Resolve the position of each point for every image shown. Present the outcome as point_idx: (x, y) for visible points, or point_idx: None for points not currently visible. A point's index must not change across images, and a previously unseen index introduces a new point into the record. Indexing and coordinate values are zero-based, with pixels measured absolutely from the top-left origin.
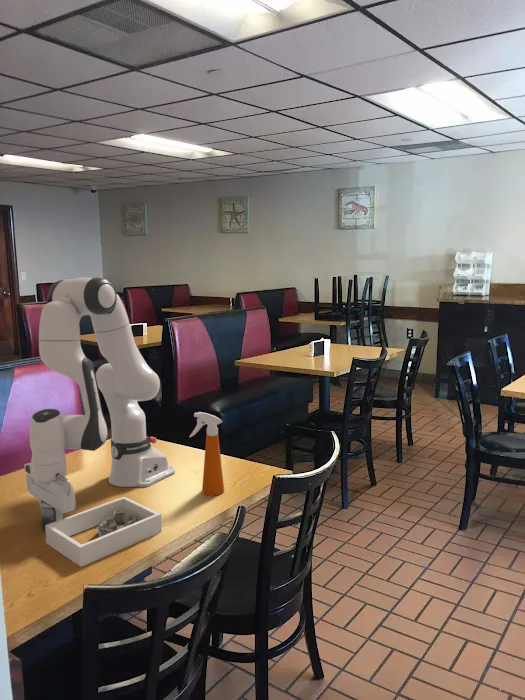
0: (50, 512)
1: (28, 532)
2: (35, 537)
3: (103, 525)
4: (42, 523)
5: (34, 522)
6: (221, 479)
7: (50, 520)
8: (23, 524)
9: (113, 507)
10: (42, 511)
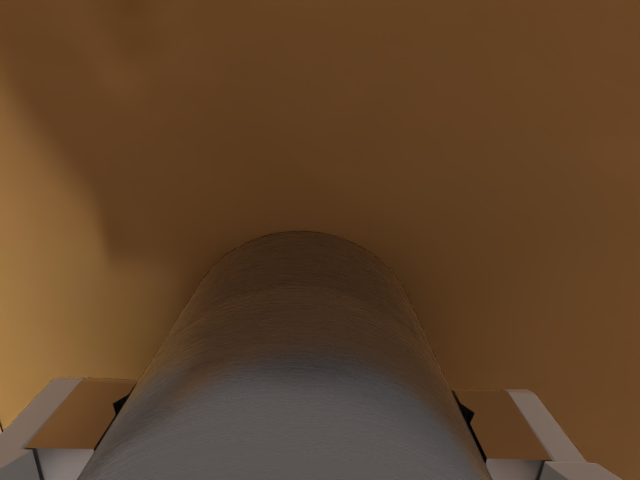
0: (84, 474)
1: (374, 63)
2: (165, 50)
3: None
4: (313, 259)
5: (549, 254)
6: None
7: (161, 345)
8: (630, 140)
9: None
10: (263, 394)
